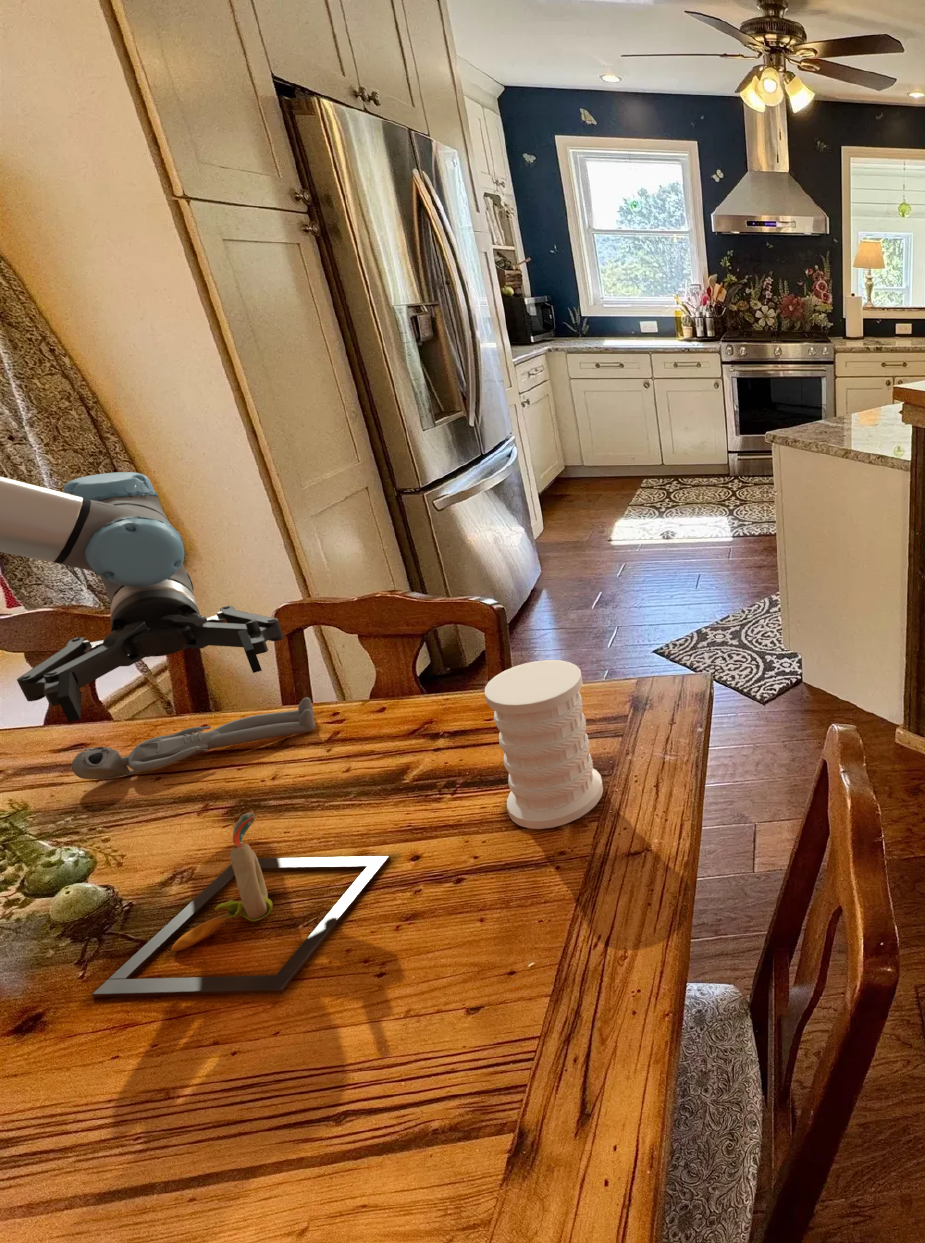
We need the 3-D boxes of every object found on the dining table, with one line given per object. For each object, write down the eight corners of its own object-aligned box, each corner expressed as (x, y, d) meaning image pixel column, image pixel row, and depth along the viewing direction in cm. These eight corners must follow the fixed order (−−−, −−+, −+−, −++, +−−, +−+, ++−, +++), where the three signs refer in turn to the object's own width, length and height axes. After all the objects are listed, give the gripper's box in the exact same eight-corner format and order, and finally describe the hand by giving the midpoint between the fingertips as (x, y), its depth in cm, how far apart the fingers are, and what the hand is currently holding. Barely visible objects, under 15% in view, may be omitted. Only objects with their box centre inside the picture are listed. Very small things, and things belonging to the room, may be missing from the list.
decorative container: (488, 811, 91) (458, 691, 85) (561, 761, 101) (540, 650, 94) (551, 840, 87) (526, 716, 80) (622, 786, 97) (604, 671, 90)
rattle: (198, 904, 77) (160, 821, 73) (292, 881, 80) (260, 799, 76) (170, 959, 71) (125, 872, 66) (272, 931, 74) (236, 846, 70)
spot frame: (93, 998, 67) (91, 994, 67) (239, 861, 83) (237, 858, 82) (282, 993, 68) (280, 989, 68) (390, 858, 84) (389, 855, 83)
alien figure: (310, 711, 104) (60, 770, 89) (318, 739, 106) (73, 802, 91) (308, 688, 110) (72, 740, 95) (315, 715, 112) (85, 771, 97)
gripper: (295, 615, 95) (327, 672, 82) (13, 681, 79) (-5, 767, 65) (278, 563, 92) (308, 614, 79) (-18, 620, 76) (-44, 697, 62)
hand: (167, 683), depth 72 cm, fingers open, 13 cm apart
